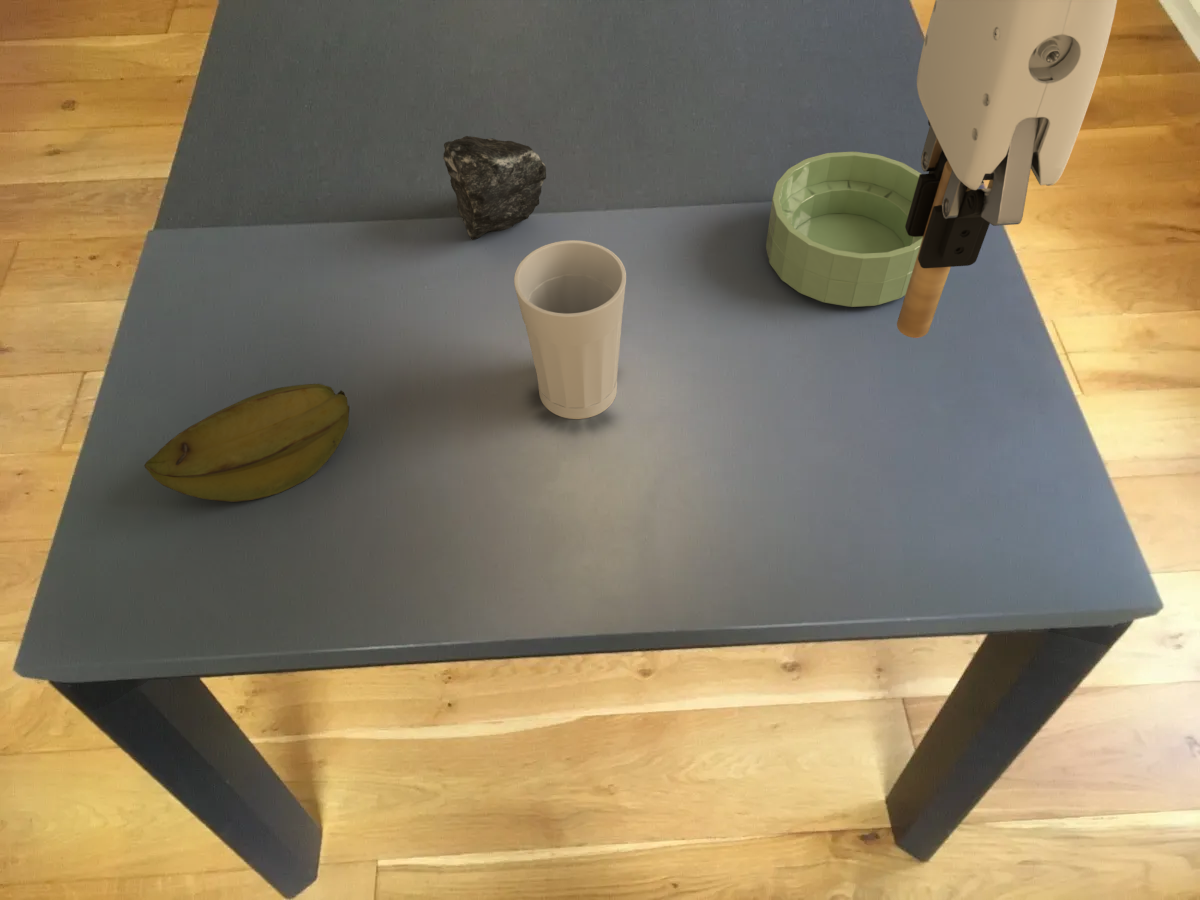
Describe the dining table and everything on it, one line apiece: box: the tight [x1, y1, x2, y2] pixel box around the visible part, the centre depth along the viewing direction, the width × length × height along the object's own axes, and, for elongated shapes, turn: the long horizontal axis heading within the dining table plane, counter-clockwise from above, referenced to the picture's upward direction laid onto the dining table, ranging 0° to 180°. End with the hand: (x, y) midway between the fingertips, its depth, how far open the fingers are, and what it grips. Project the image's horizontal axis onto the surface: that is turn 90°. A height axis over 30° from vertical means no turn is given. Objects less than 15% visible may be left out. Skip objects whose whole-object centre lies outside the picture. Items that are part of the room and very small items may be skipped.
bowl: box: [765, 151, 923, 308], centre depth 85 cm, size 14×14×6 cm
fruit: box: [143, 383, 350, 503], centre depth 72 cm, size 11×12×7 cm
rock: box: [442, 135, 547, 241], centre depth 87 cm, size 8×7×10 cm
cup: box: [513, 239, 627, 420], centre depth 74 cm, size 8×8×12 cm
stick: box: [896, 161, 972, 339], centre depth 56 cm, size 2×2×12 cm
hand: (939, 245), depth 56 cm, fingers closed on stick, 2 cm apart
